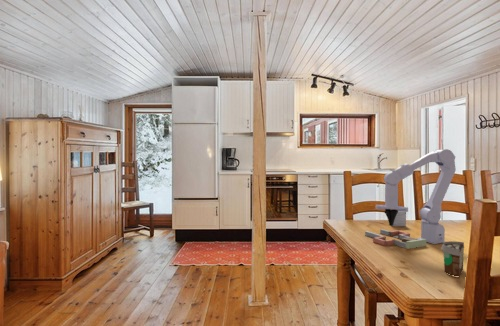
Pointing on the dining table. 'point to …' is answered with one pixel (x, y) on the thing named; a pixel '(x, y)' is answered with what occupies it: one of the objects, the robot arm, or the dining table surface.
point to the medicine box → (400, 219)
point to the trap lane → (399, 235)
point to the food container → (453, 257)
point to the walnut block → (408, 239)
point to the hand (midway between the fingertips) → (391, 225)
